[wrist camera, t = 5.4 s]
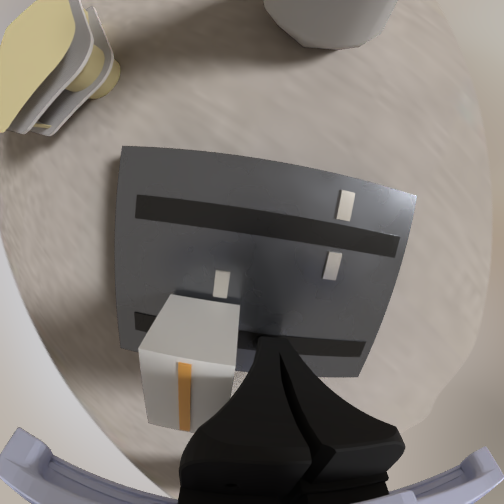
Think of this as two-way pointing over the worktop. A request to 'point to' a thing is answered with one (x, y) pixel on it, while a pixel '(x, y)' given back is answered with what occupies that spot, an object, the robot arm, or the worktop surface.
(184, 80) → the worktop surface
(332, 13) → the salt shaker
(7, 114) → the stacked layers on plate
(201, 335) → the white striped block
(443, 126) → the worktop surface
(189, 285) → the console
